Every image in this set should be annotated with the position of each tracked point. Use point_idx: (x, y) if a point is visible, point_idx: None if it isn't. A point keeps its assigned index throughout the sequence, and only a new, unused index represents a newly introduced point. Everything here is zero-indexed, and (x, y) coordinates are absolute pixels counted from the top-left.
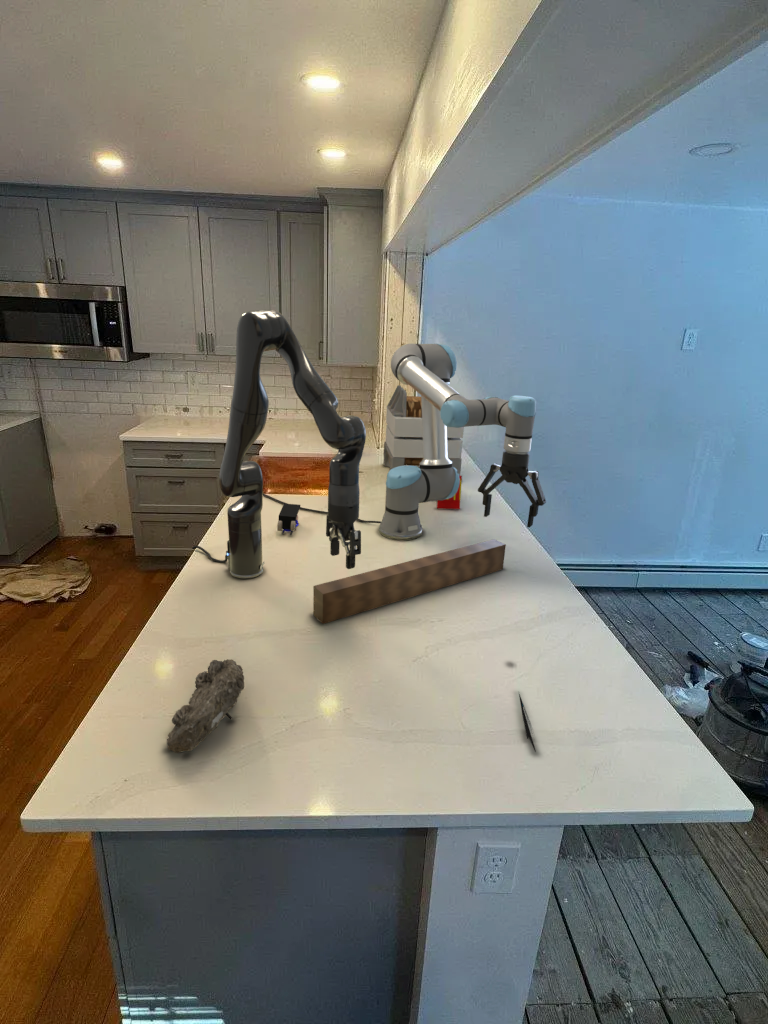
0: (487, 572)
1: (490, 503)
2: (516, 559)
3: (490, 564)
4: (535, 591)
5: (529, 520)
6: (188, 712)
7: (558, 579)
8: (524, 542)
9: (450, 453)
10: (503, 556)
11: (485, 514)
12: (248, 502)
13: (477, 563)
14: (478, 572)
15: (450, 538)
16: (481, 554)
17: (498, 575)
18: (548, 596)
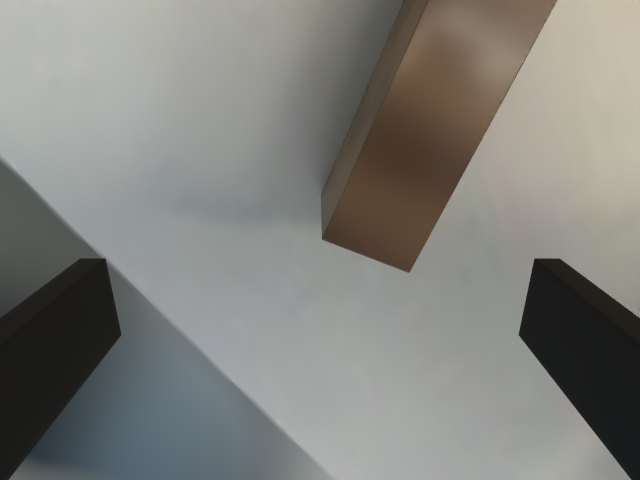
0: (361, 103)
1: (592, 414)
2: (312, 319)
3: (358, 120)
4: (111, 71)
5: (46, 293)
6: None
7: (100, 248)
8: (345, 464)
9: None
10: (323, 209)
11: (557, 268)
12: None
13: (408, 16)
14: (390, 39)
15: None
16: (407, 37)
17: (312, 124)
18: (44, 60)
